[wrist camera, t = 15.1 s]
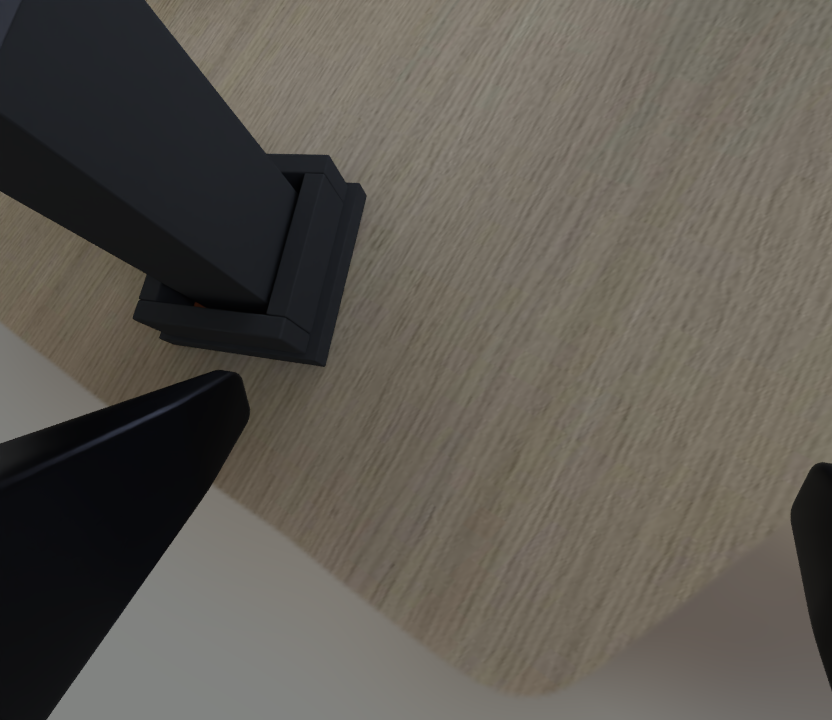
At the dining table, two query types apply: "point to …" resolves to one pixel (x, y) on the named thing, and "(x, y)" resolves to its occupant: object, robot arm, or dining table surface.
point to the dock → (279, 278)
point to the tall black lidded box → (137, 150)
